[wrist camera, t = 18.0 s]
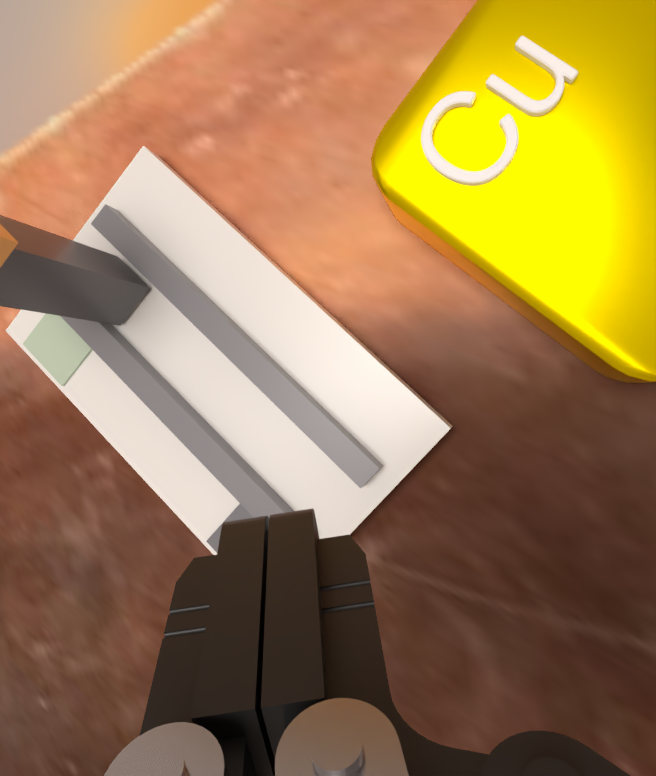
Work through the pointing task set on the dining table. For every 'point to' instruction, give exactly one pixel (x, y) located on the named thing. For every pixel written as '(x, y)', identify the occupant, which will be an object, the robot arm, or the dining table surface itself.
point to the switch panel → (228, 372)
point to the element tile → (541, 169)
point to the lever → (64, 276)
